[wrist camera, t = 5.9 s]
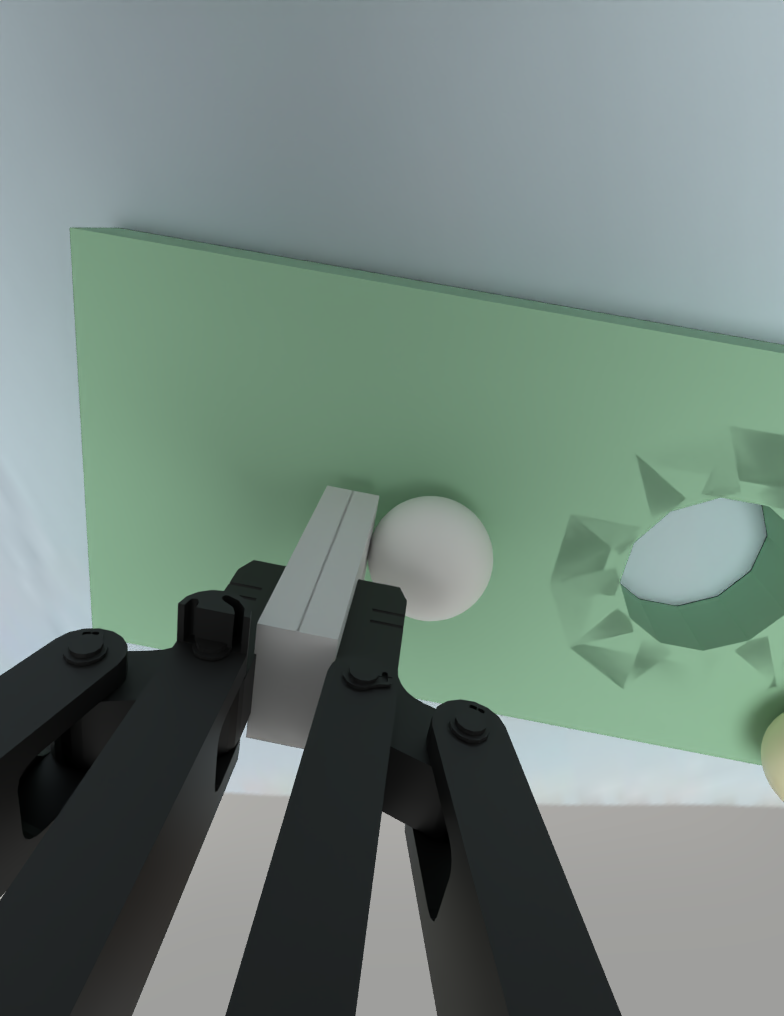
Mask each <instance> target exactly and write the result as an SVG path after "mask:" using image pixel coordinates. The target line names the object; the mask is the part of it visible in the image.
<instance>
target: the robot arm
mask: <svg viewBox="0 0 784 1016" xmlns="http://www.w3.org/2000/svg"><path fill="white" fill-rule="evenodd" d="M378 501H379V496H378V495H373V494H368V493H363V492H358V491H353V490H348V489H343V488H338V487H332V486H327V487H326V489H325V491H324V493H323V495H322V497H321V499H320V501H319V503H318V505H317V507H316V508H315V510H314V512H313V514H312V516H311V518H310V520H309V522H308V524H307V526H306V528H305V530H304V532H303V534H302V536H301V538H300V540H299V542H298V544H297V546H296V548H295V550H294V552H293V554H292V556H291V558H290V560H289V562H288V564H287V566H282V565H277V564H272V563H267V562H262V561H257V560H253V561H251V562H249V563H248V564H246V565H244V566H242V567H241V568H239V569H238V570H237V571H236V573H235V575H234V576H233V578H232V579H231V581H230V584H228V585H227V587H226V588H225V590H224V591H220V590H207V591H200V592H196V593H194V594H191V595H188V596H186V597H185V598H184V599H183V600H181V601H180V602H179V603H178V617H177V641H176V643H175V644H174V645H173V647H172V648H168V649H164V650H153V651H128V648H127V644H126V642H125V640H124V638H123V637H122V636H120V635H118V634H117V633H115V632H114V631H109V630H105V629H101V628H92V629H81V630H77V631H72V632H69V633H66V634H64V635H62V636H60V637H58V638H56V639H55V640H53V641H52V642H50V643H49V644H47V645H46V646H44V647H43V648H41V649H40V650H38V651H37V652H35V653H34V654H32V655H31V656H29V657H28V658H26V659H25V660H23V661H22V662H20V663H19V664H17V665H16V666H14V667H13V668H11V669H10V670H8V671H7V672H5V673H4V674H2V675H1V676H0V897H1V896H2V895H3V894H4V893H5V894H4V895H3V897H2V898H1V900H0V1016H132V1014H133V1012H134V1009H135V1007H136V1004H137V1002H138V999H139V997H140V995H141V992H142V990H143V987H144V985H145V983H146V980H147V978H148V975H149V973H150V970H151V968H152V965H153V963H154V961H155V958H156V956H157V954H158V951H159V949H160V946H161V944H162V941H163V939H164V937H165V934H166V932H167V929H168V927H169V924H170V922H171V920H172V917H173V915H174V912H175V910H176V907H177V905H178V903H179V900H180V898H181V895H182V893H183V890H184V888H185V885H186V883H187V881H188V878H189V876H190V874H191V871H192V869H193V866H194V864H195V861H196V859H197V857H198V854H199V852H200V849H201V847H202V844H203V842H204V840H205V837H206V835H207V832H208V830H209V827H210V825H211V822H212V820H213V818H214V815H215V813H216V810H217V808H218V806H219V803H220V801H221V798H222V796H223V794H224V791H225V789H226V786H227V784H228V781H229V779H230V777H231V774H232V772H233V769H234V767H235V764H236V762H237V760H238V754H239V746H240V737H241V735H242V732H243V730H244V728H245V725H246V723H247V721H248V723H247V734H246V737H248V738H252V739H257V740H262V741H267V742H272V743H277V744H281V745H286V746H291V747H296V748H301V749H304V752H303V755H302V758H301V762H300V765H299V769H298V772H297V775H296V779H295V782H294V785H293V789H292V792H291V796H290V799H289V803H288V806H287V809H286V813H285V816H284V820H283V823H282V826H281V829H280V833H279V836H278V840H277V843H276V846H275V850H274V853H273V857H272V860H271V863H270V867H269V870H268V873H267V877H266V880H265V884H264V887H263V891H262V894H261V897H260V900H259V904H258V907H257V911H256V914H255V917H254V921H253V924H252V927H251V931H250V934H249V938H248V941H247V944H246V948H245V951H244V955H243V958H242V961H241V965H240V968H239V972H238V975H237V978H236V982H235V985H234V988H233V992H232V995H231V999H230V1002H229V1005H228V1009H227V1012H226V1015H225V1016H355V1014H356V1006H357V998H358V991H359V983H360V975H361V968H362V960H363V952H364V945H365V936H366V929H367V921H368V914H369V905H370V898H371V891H372V882H373V876H374V868H375V860H376V852H377V845H378V837H379V829H380V822H381V814H382V812H385V813H386V814H388V815H390V816H392V817H394V818H395V819H397V820H399V821H401V822H403V823H405V834H406V840H407V846H408V851H409V857H410V863H411V869H412V875H413V880H414V886H415V891H416V897H417V903H418V908H419V914H420V920H421V925H422V931H423V937H424V943H425V948H426V953H427V960H428V965H429V971H430V976H431V982H432V987H433V994H434V999H435V1005H436V1011H437V1016H622V1015H621V1013H620V1011H619V1008H618V1006H617V1003H616V1000H615V998H614V996H613V993H612V991H611V988H610V986H609V983H608V981H607V978H606V976H605V973H604V971H603V968H602V966H601V963H600V961H599V958H598V956H597V953H596V951H595V949H594V946H593V943H592V941H591V939H590V936H589V933H588V931H587V928H586V926H585V923H584V921H583V918H582V916H581V914H580V911H579V909H578V906H577V904H576V901H575V899H574V896H573V894H572V891H571V889H570V886H569V884H568V881H567V879H566V876H565V874H564V871H563V869H562V866H561V864H560V861H559V859H558V856H557V854H556V851H555V849H554V846H553V844H552V841H551V839H550V836H549V834H548V831H547V829H546V826H545V824H544V822H543V819H542V817H541V814H540V812H539V809H538V807H537V804H536V802H535V799H534V797H533V794H532V792H531V789H530V787H529V784H528V782H527V779H526V777H525V774H524V772H523V769H522V767H521V764H520V762H519V759H518V757H517V754H516V752H515V749H514V747H513V744H512V742H511V740H510V737H509V735H508V732H507V730H506V727H505V726H504V724H503V723H502V721H501V719H500V718H499V717H498V716H497V715H496V714H495V713H494V712H492V711H491V710H490V709H489V708H487V707H485V706H483V705H481V704H478V703H476V702H474V701H468V700H462V699H458V700H450V701H446V702H445V703H443V704H441V705H439V706H438V707H437V708H436V709H435V708H433V707H430V706H428V705H426V704H424V703H422V702H421V701H419V700H417V699H415V698H414V697H413V696H412V695H410V694H409V693H408V692H407V691H406V690H405V688H404V687H403V686H402V684H401V682H400V680H399V677H398V666H399V658H400V651H401V643H402V635H403V627H404V620H405V613H406V605H407V600H406V598H405V596H404V594H403V592H402V590H401V588H400V587H396V586H391V585H386V584H381V583H375V582H370V581H365V574H366V569H367V563H368V552H369V546H370V541H371V538H372V535H373V529H374V524H375V518H376V512H377V507H378Z"/></svg>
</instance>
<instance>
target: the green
mask: <svg viewBox="0 0 784 1016" xmlns="http://www.w3.org/2000/svg"><path fill="white" fill-rule="evenodd" d="M70 243H71V260H72V278H73V295H74V313H75V330H76V348H77V365H78V383H79V400H80V418H81V435H82V453H83V470H84V488H85V505H86V522H87V540H88V557H89V575H90V592H91V610H92V627H93V628H101V629H105V630H109V631H114V632H115V633H117V634H118V635H120V636H122V637H123V638H124V640H125V642H127V643H132V644H137V645H142V646H147V647H152V648H158V649H163V650H164V649H168V648H172V647H173V645H174V644H175V643H176V641H177V617H178V603H179V602H180V601H181V600H183V599H184V598H185V597H186V596H188V595H191V594H194V593H196V592H200V591H207V590H220V591H224V590H225V588H226V587H227V585H228V584H230V581H231V579H232V578H233V576H234V575H235V573H236V571H237V570H238V569H239V568H241V567H242V566H244V565H246V564H248V563H249V562H251V561H253V560H257V561H262V562H267V563H272V564H277V565H282V566H287V564H288V562H289V560H290V558H291V556H292V554H293V552H294V550H295V548H296V546H297V544H298V542H299V540H300V538H301V536H302V534H303V532H304V530H305V528H306V526H307V524H308V522H309V520H310V518H311V516H312V514H313V512H314V510H315V508H316V507H317V505H318V503H319V501H320V499H321V497H322V495H323V493H324V491H325V489H326V487H327V486H332V487H338V488H343V489H348V490H353V491H358V492H363V493H368V494H373V495H378V496H379V501H378V507H377V512H376V518H375V524H374V529H373V533H374V530H375V528H376V527H377V525H378V524H379V522H380V521H381V519H382V518H383V517H384V516H385V515H386V514H387V513H388V512H389V511H390V510H392V509H393V508H394V507H395V506H397V505H399V504H400V503H402V502H405V501H407V500H409V499H412V498H416V497H422V496H439V497H445V498H448V499H451V500H454V501H457V502H458V503H460V504H462V505H464V506H465V507H467V508H468V509H470V510H471V511H472V512H473V513H474V514H475V515H476V516H477V517H478V518H479V520H480V521H481V522H482V524H483V525H484V527H485V529H486V531H487V533H488V535H489V538H490V541H491V544H492V549H493V569H492V573H491V577H490V580H489V583H488V585H487V587H486V589H485V591H484V592H483V594H482V596H481V597H480V598H479V599H478V600H477V602H476V603H474V604H473V605H472V606H471V607H470V608H469V609H467V610H466V611H464V612H463V613H461V614H459V615H457V616H455V617H453V618H449V619H446V620H440V621H421V620H416V619H413V618H409V617H407V616H405V620H404V627H403V635H402V643H401V651H400V658H399V666H398V677H399V680H400V682H401V684H402V686H403V687H404V688H405V690H406V691H407V692H408V693H409V694H410V695H412V696H413V697H414V698H416V699H421V700H426V701H431V702H436V703H442V704H443V703H445V702H446V701H450V700H458V699H462V700H468V701H474V702H476V703H478V704H481V705H483V706H485V707H487V708H489V709H490V710H491V711H492V712H494V713H495V714H498V715H504V716H509V717H514V718H519V719H524V720H529V721H535V722H540V723H545V724H550V725H555V726H560V727H566V728H571V729H576V730H581V731H586V732H591V733H597V734H602V735H607V736H612V737H617V738H622V739H628V740H633V741H638V742H643V743H648V744H653V745H659V746H664V747H669V748H674V749H679V750H684V751H690V752H695V753H700V754H705V755H710V756H715V757H721V758H726V759H731V760H736V761H741V762H746V763H752V764H757V765H762V762H761V743H762V739H763V736H764V734H765V732H766V730H767V728H768V726H769V725H770V724H771V723H772V721H773V720H774V719H775V718H776V717H778V716H779V715H780V714H782V713H783V712H784V345H781V344H775V343H770V342H764V341H758V340H753V339H747V338H741V337H736V336H730V335H724V334H718V333H713V332H707V331H701V330H696V329H690V328H684V327H679V326H673V325H667V324H662V323H656V322H650V321H645V320H639V319H633V318H628V317H622V316H616V315H611V314H605V313H599V312H593V311H588V310H582V309H576V308H571V307H565V306H559V305H554V304H548V303H542V302H537V301H531V300H525V299H520V298H514V297H508V296H503V295H497V294H491V293H486V292H480V291H474V290H469V289H463V288H457V287H451V286H446V285H440V284H434V283H429V282H423V281H417V280H412V279H406V278H400V277H395V276H389V275H383V274H378V273H372V272H366V271H361V270H355V269H349V268H344V267H338V266H332V265H326V264H321V263H315V262H309V261H304V260H298V259H292V258H287V257H281V256H275V255H270V254H264V253H258V252H253V251H247V250H241V249H236V248H230V247H224V246H219V245H213V244H207V243H201V242H196V241H190V240H184V239H179V238H173V237H167V236H162V235H156V234H150V233H145V232H139V231H133V230H128V229H122V228H70ZM717 498H726V499H732V500H737V501H743V502H748V503H754V504H759V505H762V507H763V513H764V519H765V525H766V531H767V538H766V540H765V542H764V544H763V547H762V549H761V551H760V553H759V555H758V557H757V559H756V562H755V564H754V566H753V568H752V570H751V572H749V573H748V574H747V575H745V576H744V577H743V578H741V579H740V580H739V581H738V582H736V583H735V584H734V585H732V586H731V587H730V588H728V589H727V590H726V591H724V592H723V593H722V594H721V595H719V596H718V597H714V598H710V599H706V600H702V601H697V602H693V603H689V604H685V605H681V606H672V605H667V604H662V603H656V602H651V601H646V600H640V599H638V598H637V597H636V596H634V595H633V594H632V593H631V592H630V591H628V590H627V589H626V588H625V587H624V586H622V585H621V584H620V580H621V577H622V574H623V572H624V569H625V566H626V563H627V561H628V558H629V555H630V553H631V550H632V547H633V544H634V543H635V542H636V541H637V540H638V539H639V538H640V537H642V536H643V535H644V534H645V533H646V532H647V531H649V530H650V529H651V528H652V527H653V526H654V525H656V524H657V523H658V522H659V521H660V520H661V519H662V518H664V517H665V516H666V515H667V514H668V513H669V512H671V511H674V510H678V509H681V508H685V507H688V506H692V505H696V504H699V503H703V502H706V501H710V500H714V499H717ZM365 581H370V582H372V579H371V576H370V572H369V566H368V563H367V569H366V574H365Z"/></svg>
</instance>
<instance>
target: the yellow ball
mask: <svg viewBox="0 0 784 1016" xmlns="http://www.w3.org/2000/svg"><path fill="white" fill-rule="evenodd" d="M761 762H762V766H763V770H764V773H765V776H766V778H767V780H768V782H769V784H770V786H771V787H772V789H773V790H774V792H775V793H776V794H777V795H778V796H779V798H780V799H781V800H782V801H783V802H784V712H783V713H782V714H780V715H779V716H778V717H776V718H775V719H774V720H773V721H772V723H771V724H770V725H769V726H768V728H767V730H766V732H765V734H764V736H763V739H762V743H761Z"/></svg>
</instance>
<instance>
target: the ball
mask: <svg viewBox="0 0 784 1016" xmlns="http://www.w3.org/2000/svg"><path fill="white" fill-rule="evenodd" d="M368 566H369V572H370V576H371V579H372V582H375V583H381V584H386V585H391V586H396V587H400V588H401V590H402V592H403V594H404V596H405V598H406V600H407V605H406V613H405V616H407V617H409V618H413V619H416V620H421V621H440V620H446V619H449V618H453V617H455V616H457V615H459V614H461V613H463V612H464V611H466V610H467V609H469V608H470V607H471V606H472V605H473V604H474V603H476V602H477V600H478V599H479V598H480V597H481V596H482V594H483V592H484V591H485V589H486V587H487V585H488V583H489V580H490V577H491V573H492V569H493V549H492V544H491V541H490V538H489V535H488V533H487V531H486V529H485V527H484V525H483V524H482V522H481V521H480V520H479V518H478V517H477V516H476V515H475V514H474V513H473V512H472V511H471V510H470V509H468V508H467V507H465V506H464V505H462V504H460V503H458V502H457V501H454V500H451V499H448V498H445V497H439V496H422V497H416V498H412V499H409V500H407V501H405V502H402V503H400V504H399V505H397V506H395V507H394V508H393V509H392V510H390V511H389V512H388V513H387V514H386V515H385V516H384V517H383V518H382V519H381V521H380V522H379V524H378V525H377V527H376V528H375V530H374V533H373V535H372V538H371V541H370V546H369V552H368Z"/></svg>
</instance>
